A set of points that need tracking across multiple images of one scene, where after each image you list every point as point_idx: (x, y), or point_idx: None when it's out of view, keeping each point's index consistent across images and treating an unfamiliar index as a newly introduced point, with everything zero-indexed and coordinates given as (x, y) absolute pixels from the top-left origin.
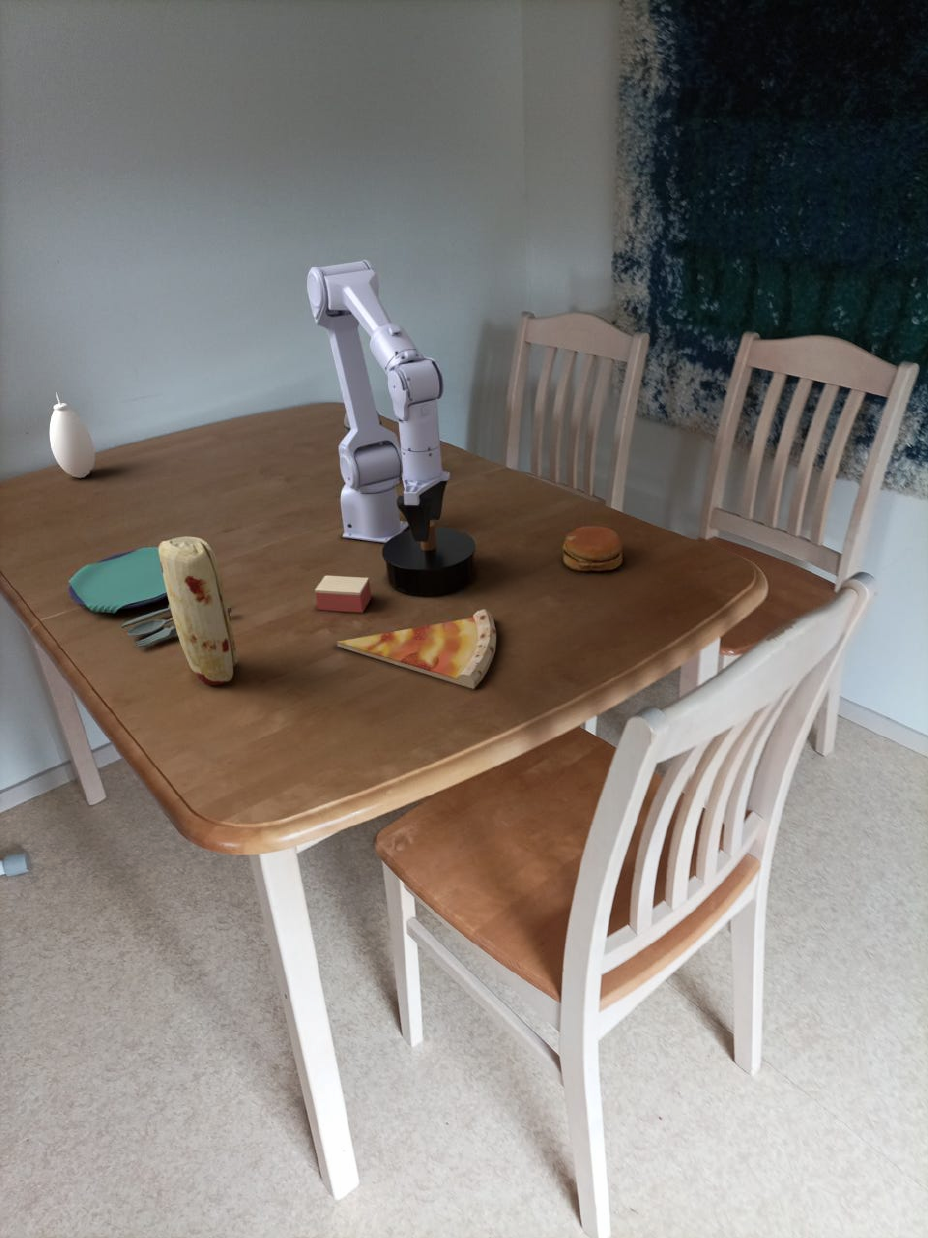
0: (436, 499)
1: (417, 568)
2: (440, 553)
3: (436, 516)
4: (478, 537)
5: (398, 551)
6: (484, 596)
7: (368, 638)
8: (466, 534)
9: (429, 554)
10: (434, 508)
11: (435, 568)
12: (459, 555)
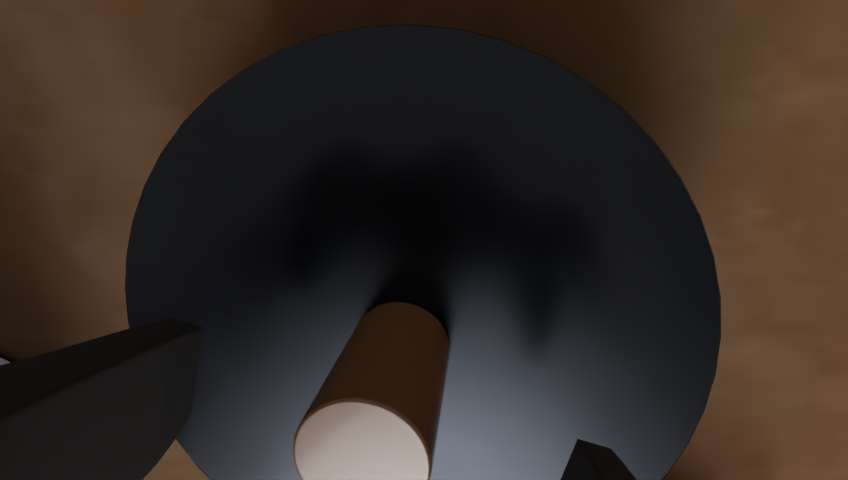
0: (23, 464)
1: (683, 429)
2: (502, 281)
3: (182, 359)
4: (46, 21)
5: None
6: (700, 15)
7: None
8: (232, 87)
9: (503, 348)
10: (119, 415)
11: (719, 327)
12: (560, 155)
